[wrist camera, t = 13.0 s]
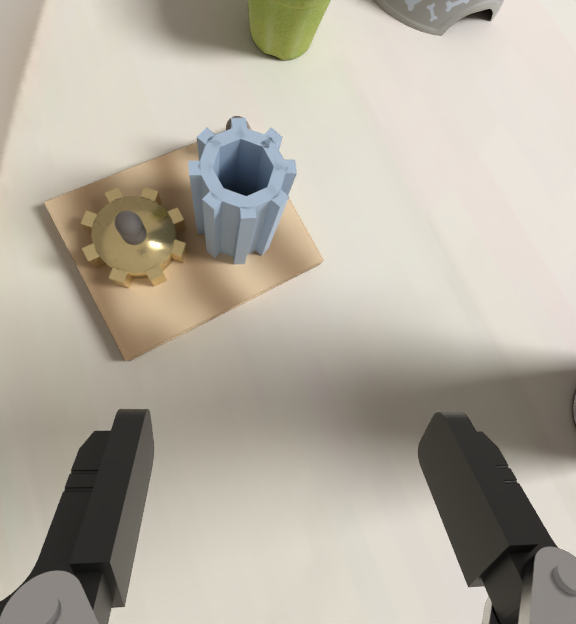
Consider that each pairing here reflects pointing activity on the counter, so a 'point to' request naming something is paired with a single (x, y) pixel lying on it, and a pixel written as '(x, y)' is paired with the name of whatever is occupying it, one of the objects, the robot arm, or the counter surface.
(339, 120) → the counter surface
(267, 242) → the pinion
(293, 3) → the plant pot
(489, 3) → the dog bowl
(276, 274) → the gear board
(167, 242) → the gear
